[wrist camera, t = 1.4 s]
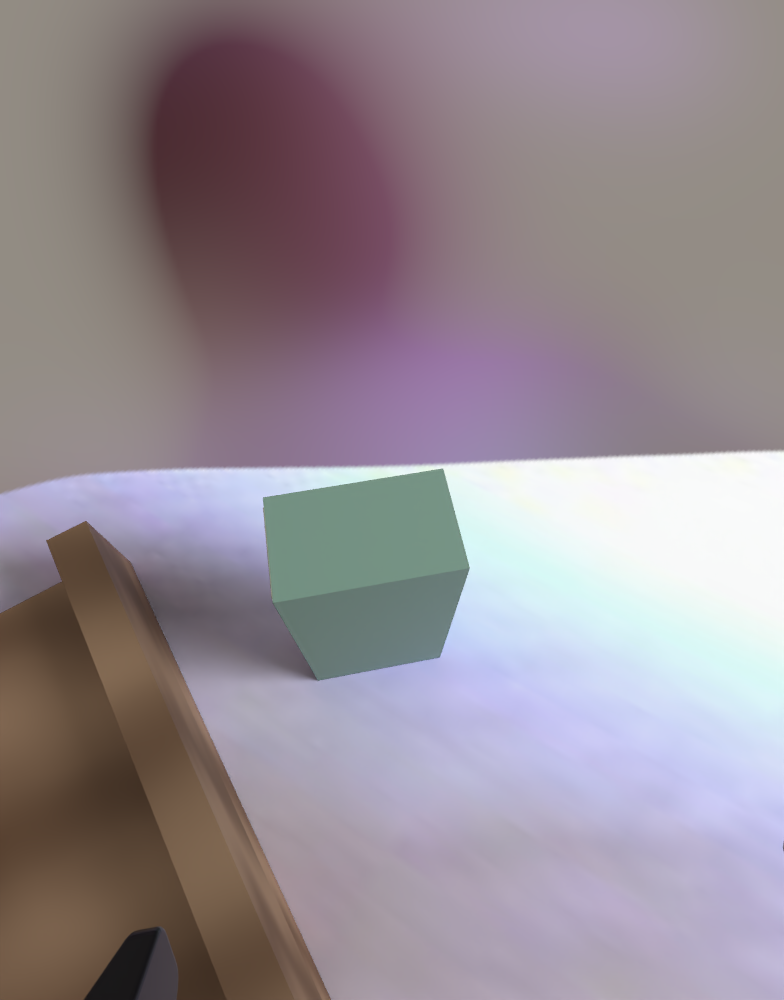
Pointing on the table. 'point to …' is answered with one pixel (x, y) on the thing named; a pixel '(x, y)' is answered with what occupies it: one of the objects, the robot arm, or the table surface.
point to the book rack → (123, 804)
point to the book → (366, 571)
